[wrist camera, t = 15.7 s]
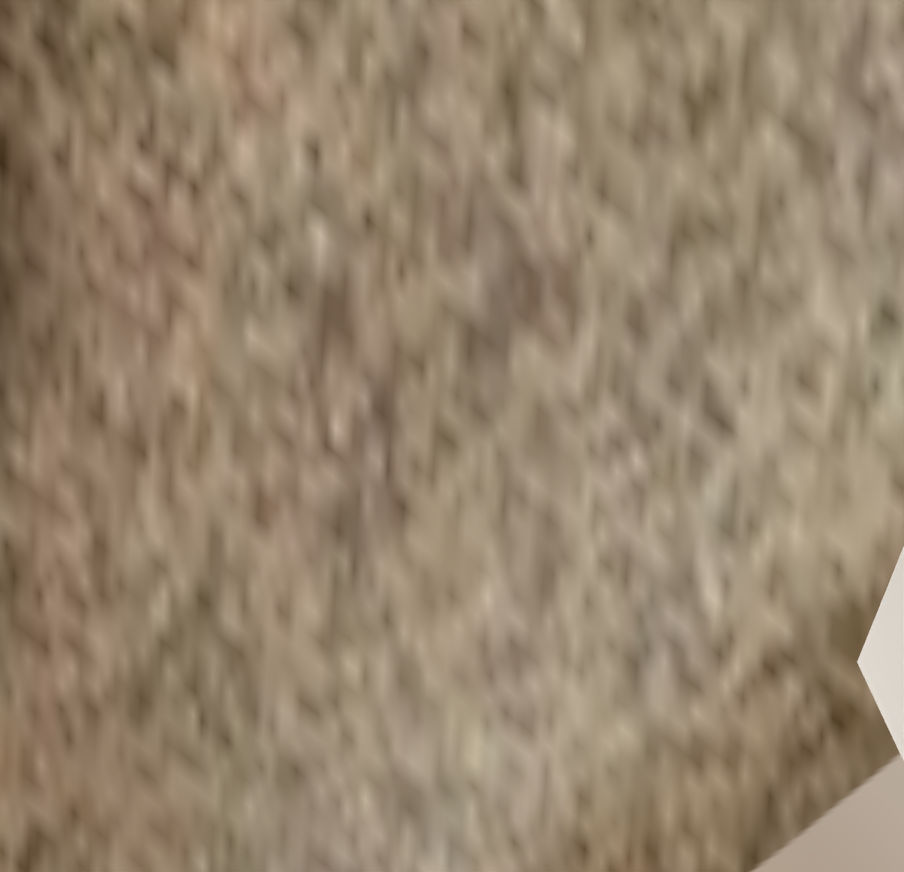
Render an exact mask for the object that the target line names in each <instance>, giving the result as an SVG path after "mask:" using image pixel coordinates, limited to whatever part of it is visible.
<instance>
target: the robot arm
mask: <svg viewBox="0 0 904 872" xmlns="http://www.w3.org/2000/svg"><path fill="white" fill-rule="evenodd" d="M857 663H858V665H859V667H860V669H861V671H862V674H863V676H864V678H865V680H866V682H867V684H868V686H869V688H870V691H871V693H872V695H873V697H874V699H875V701H876V703H877V705H878V707H879V710H880V712H881V714H882V716H883V718H884V720H885V722H886V724H887V726H888V729H889V731H890V733H891V735H892V737H893V739H894V741H895V743H896V745H897V748H898V750H899V752H900V754H901V756H902V758H903V760H904V547H903V550H902V552H901V555H900V557H899V559H898V562H897V564H896V567H895V569H894V572H893V574H892V577H891V579H890V582H889V584H888V587H887V589H886V592H885V594H884V597H883V599H882V602H881V604H880V607H879V609H878V612H877V614H876V617H875V619H874V622H873V624H872V627H871V629H870V632H869V634H868V637H867V639H866V642H865V644H864V647H863V649H862V652H861V654H860V657H859V659H858V662H857Z"/></svg>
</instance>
